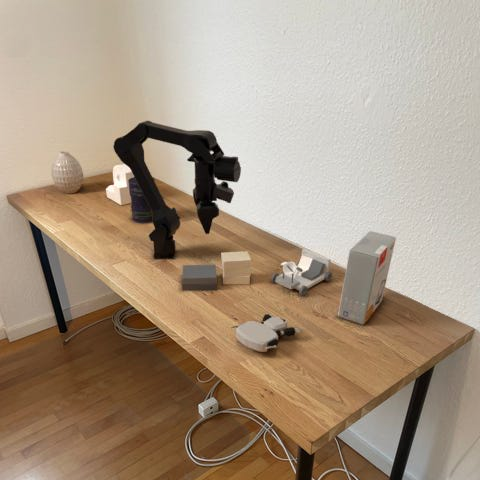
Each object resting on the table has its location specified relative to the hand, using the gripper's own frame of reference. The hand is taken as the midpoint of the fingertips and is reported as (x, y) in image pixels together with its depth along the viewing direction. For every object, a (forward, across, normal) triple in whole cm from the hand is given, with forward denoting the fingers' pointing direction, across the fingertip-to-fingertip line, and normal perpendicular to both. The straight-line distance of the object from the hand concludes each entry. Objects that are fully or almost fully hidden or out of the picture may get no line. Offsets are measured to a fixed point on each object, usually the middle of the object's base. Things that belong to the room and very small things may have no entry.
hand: (205, 227), depth 149 cm
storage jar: (+12, +40, +20) cm, 47 cm away
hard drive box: (+12, -33, -40) cm, 53 cm away
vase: (+12, +76, +52) cm, 93 cm away
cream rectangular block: (+7, -12, -8) cm, 16 cm away
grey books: (+12, -13, +3) cm, 18 cm away
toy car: (+12, -17, -26) cm, 34 cm away
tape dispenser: (+12, +66, +29) cm, 73 cm away
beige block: (+12, -12, -8) cm, 19 cm away
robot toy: (+12, -44, -10) cm, 47 cm away
